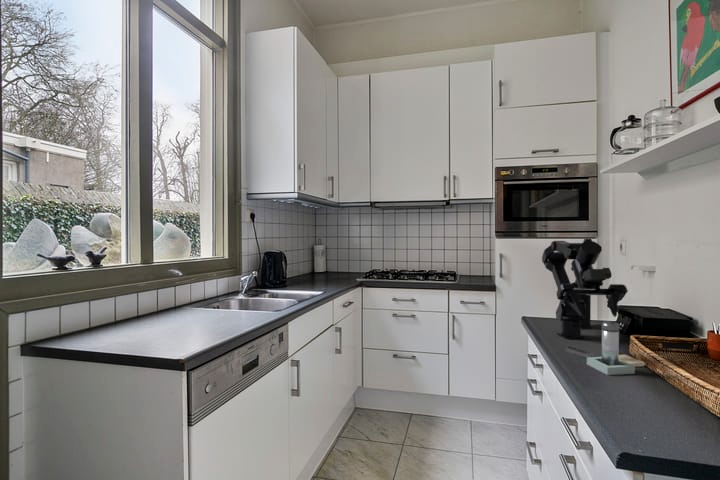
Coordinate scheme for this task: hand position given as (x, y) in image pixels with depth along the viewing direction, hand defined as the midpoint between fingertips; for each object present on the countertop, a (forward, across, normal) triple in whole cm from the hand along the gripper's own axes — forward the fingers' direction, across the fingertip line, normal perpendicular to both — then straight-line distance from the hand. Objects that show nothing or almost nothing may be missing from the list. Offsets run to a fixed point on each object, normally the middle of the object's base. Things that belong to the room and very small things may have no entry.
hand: (598, 315), depth 113 cm
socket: (+15, 0, +3) cm, 15 cm away
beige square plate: (+11, +6, +8) cm, 15 cm away
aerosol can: (-16, +8, +37) cm, 41 cm away
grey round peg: (+15, 0, +3) cm, 15 cm away
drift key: (+7, -4, +12) cm, 14 cm away
